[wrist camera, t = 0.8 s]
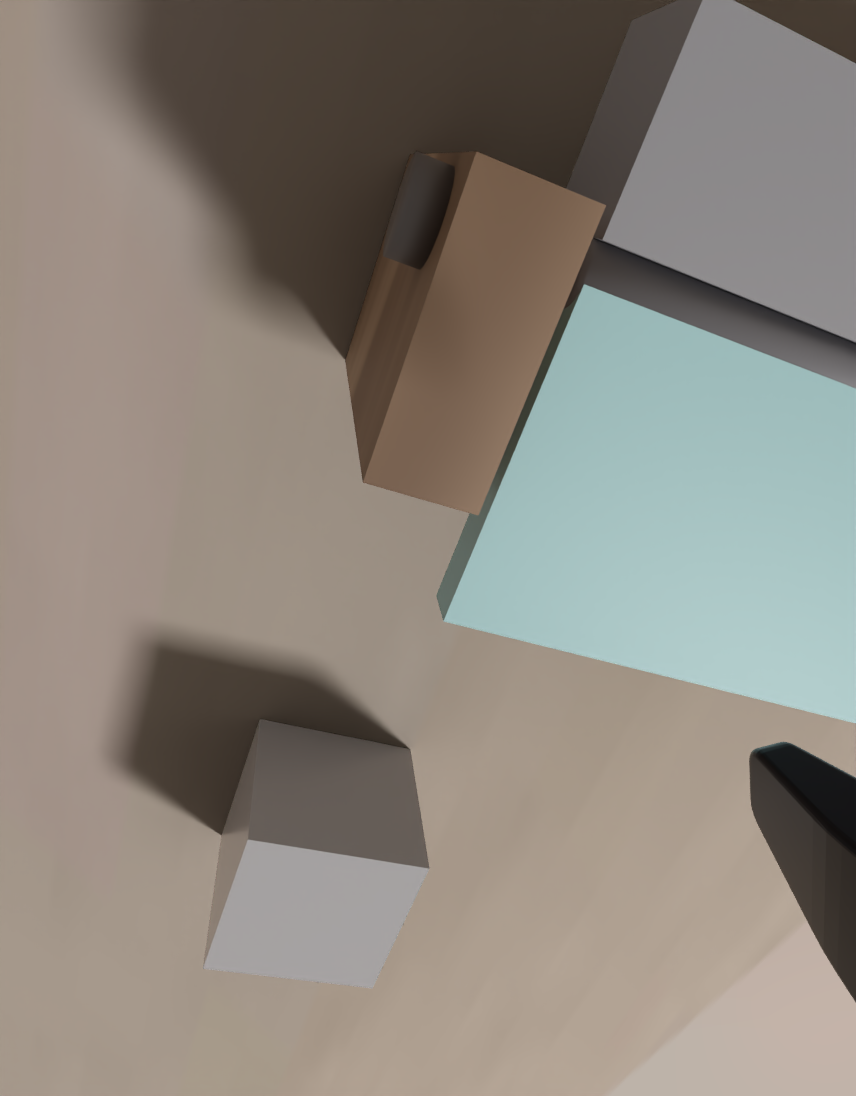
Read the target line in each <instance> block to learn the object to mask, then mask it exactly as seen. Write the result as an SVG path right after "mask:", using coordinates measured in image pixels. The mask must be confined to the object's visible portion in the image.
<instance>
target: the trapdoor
mask: <svg viewBox="0 0 856 1096" xmlns="http://www.w3.org/2000/svg"><path fill="white" fill-rule="evenodd" d="M566 189H568V190H570V191H573V192H575V193H578V194H580V195H582V196H585V197H587V198H590V199H592V200H594V201H597V202H599V203H602V204H604V205H606V207H605V209H604V212H603V214H602V217H601V219H600V222H599V224H598V226H597V229H596V231H595V234H594V236H593V239H592V241H591V243H590V246H589V248H588V251H587V253H586V256H585V258H584V260H583V263H582V265H581V268H580V270H579V273H578V275H577V277H576V280H575V282H574V285H573V287H572V290H571V292H570V294H569V297H568V299H567V302H566V304H565V307H564V309H563V311H562V314H561V316H560V319H559V321H558V324H557V326H556V328H555V331H554V333H553V336H552V338H551V341H550V343H549V345H548V348H547V350H546V353H545V355H544V358H543V360H542V362H541V365H540V367H539V370H538V372H537V375H536V377H535V379H534V382H533V384H532V387H531V389H530V392H529V394H528V396H527V399H526V401H525V404H524V406H523V409H522V411H521V413H520V416H519V418H518V421H517V423H516V426H515V428H514V430H513V433H512V435H511V438H510V440H509V443H508V445H507V447H506V450H505V452H504V455H503V457H502V460H501V462H500V464H499V467H498V469H497V472H496V474H495V476H494V479H493V481H492V484H491V486H490V489H489V491H488V493H487V496H486V498H485V501H484V503H483V506H482V508H481V510H480V513H479V515H474V514H471V513H470V514H469V517H468V519H467V522H466V524H465V526H464V529H463V531H462V534H461V536H460V539H459V541H458V544H457V546H456V549H455V551H454V553H453V556H452V558H451V561H450V563H449V566H448V568H447V571H446V573H445V576H444V578H443V581H442V583H441V585H440V588H439V590H438V593H437V595H436V596H437V600H438V603H439V607H440V610H441V614H442V618H443V621H444V622H448V623H452V624H456V625H460V626H464V627H468V628H473V629H477V630H481V631H485V632H489V633H493V634H497V635H501V636H505V637H509V638H513V639H517V640H521V641H525V642H529V643H533V644H537V645H541V646H545V647H549V648H553V649H557V650H561V651H565V652H570V653H574V654H578V655H582V656H586V657H590V658H594V659H598V660H602V661H606V662H610V663H614V664H618V665H622V666H626V667H630V668H634V669H638V670H642V671H646V672H650V673H654V674H658V675H662V676H667V677H671V678H675V679H679V680H683V681H687V682H691V683H695V684H699V685H703V686H707V687H711V688H715V689H719V690H723V691H727V692H731V693H735V694H739V695H743V696H747V697H751V698H755V699H759V700H764V701H768V702H772V703H776V704H780V705H784V706H788V707H792V708H796V709H800V710H804V711H808V712H812V713H816V714H820V715H824V716H828V717H832V718H836V719H840V720H844V721H848V722H852V723H856V63H854V62H852V61H850V60H848V59H846V58H844V57H843V56H841V55H839V54H837V53H835V52H833V51H831V50H829V49H827V48H825V47H823V46H821V45H819V44H817V43H815V42H813V41H812V40H810V39H808V38H806V37H804V36H802V35H800V34H798V33H796V32H794V31H792V30H790V29H788V28H786V27H784V26H782V25H781V24H779V23H777V22H775V21H773V20H771V19H769V18H767V17H765V16H763V15H761V14H759V13H757V12H755V11H753V10H752V9H750V8H748V7H746V6H744V5H742V4H740V3H738V2H736V1H734V0H677V1H675V2H673V3H670V4H668V5H666V6H663V7H661V8H659V9H657V10H654V11H652V12H650V13H647V14H645V15H643V16H641V17H638V18H636V19H634V20H632V21H631V23H630V26H629V29H628V31H627V34H626V36H625V39H624V41H623V44H622V47H621V49H620V52H619V54H618V57H617V59H616V62H615V64H614V67H613V70H612V72H611V75H610V77H609V80H608V82H607V85H606V87H605V90H604V93H603V95H602V98H601V100H600V103H599V105H598V108H597V111H596V113H595V116H594V118H593V121H592V123H591V126H590V128H589V131H588V134H587V136H586V139H585V141H584V144H583V146H582V149H581V152H580V154H579V157H578V159H577V162H576V164H575V167H574V169H573V172H572V175H571V177H570V180H569V182H568V185H567V187H566Z"/></svg>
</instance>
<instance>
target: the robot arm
mask: <svg viewBox="0 0 856 1096" xmlns="http://www.w3.org/2000/svg"><path fill="white" fill-rule="evenodd" d="M749 766H750V794H751V806H752V810H753V814H754V817H755V819H756V822H757V824H758V826H759V828H760V830H761V832H762V834H763V836H764V838H765V839H766V841H767V843H768V845H769V847H770V849H771V851H772V853H773V855H774V857H775V859H776V861H777V863H778V865H779V867H780V869H781V871H782V873H783V875H784V877H785V878H786V880H787V882H788V884H789V886H790V888H791V890H792V892H793V894H794V896H795V898H796V900H797V902H798V904H799V906H800V908H801V910H802V912H803V914H804V916H805V917H806V919H807V921H808V923H809V925H810V927H811V929H812V931H813V933H814V935H815V937H816V938H817V940H818V942H819V944H820V946H821V948H822V949H823V951H824V953H825V955H826V956H827V958H828V960H829V961H830V963H831V964H832V966H833V968H834V969H835V971H836V972H837V974H838V976H839V977H840V979H841V980H842V982H843V983H844V985H845V986H846V988H847V990H848V991H849V993H850V994H851V996H852V997H853V998H854V1000H855V1002H856V778H855V777H853V776H852V775H850V774H848V773H846V772H844V771H842V770H840V769H838V768H837V767H835V766H833V765H831V764H829V763H827V762H825V761H823V760H822V759H820V758H818V757H816V756H814V755H812V754H810V753H808V752H807V751H805V750H803V749H801V748H799V747H797V746H795V745H793V744H791V743H787V742H780V743H776V744H772V745H768V746H765V747H761V748H757V749H755V750H753V751H752V752H751V754H750V759H749Z"/></svg>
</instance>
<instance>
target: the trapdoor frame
mask: <svg viewBox="0 0 856 1096" xmlns="http://www.w3.org/2000/svg"><path fill="white" fill-rule="evenodd" d="M605 207H606V205H604V204H602V203H599V202H597V201H594V200H592V199H590V198H587V197H585V196H582V195H580V194H578V193H575V192H573V191H570V190H568V189H566V188H563V187H561V186H558V185H556V184H554V183H551V182H549V181H546V180H544V179H542V178H539V177H537V176H534V175H532V174H530V173H527V172H525V171H522V170H520V169H518V168H515V167H513V166H510V165H508V164H506V163H503V162H501V161H498V160H496V159H494V158H491V157H489V156H486V155H484V154H482V153H479V152H477V151H475V152H453V153H430V154H423V153H420V152H418V151H416V152H415V153H414V154H410V156H409V159H408V163H407V166H406V169H405V172H404V175H403V178H402V182H401V185H400V188H399V191H398V194H397V198H396V201H395V204H394V207H393V210H392V214H391V217H390V220H389V223H388V226H387V229H386V233H385V236H384V239H383V242H382V245H381V249H380V252H379V255H378V258H377V261H376V265H375V268H374V271H373V274H372V277H371V281H370V284H369V287H368V290H367V293H366V296H365V300H364V303H363V306H362V309H361V312H360V316H359V319H358V322H357V325H356V328H355V332H354V335H353V338H352V341H351V344H350V347H349V351H348V354H347V357H346V360H345V362H346V369H347V376H348V383H349V390H350V396H351V403H352V410H353V417H354V424H355V431H356V438H357V445H358V452H359V458H360V465H361V472H362V479H363V483H367V484H370V485H374V486H377V487H381V488H384V489H388V490H391V491H395V492H398V493H402V494H405V495H408V496H412V497H415V498H419V499H422V500H426V501H429V502H433V503H436V504H440V505H443V506H447V507H450V508H454V509H457V510H461V511H464V512H468V513H471V514H474V515H479V513H480V510H481V508H482V506H483V503H484V501H485V498H486V496H487V493H488V491H489V489H490V486H491V484H492V481H493V479H494V476H495V474H496V472H497V469H498V467H499V464H500V462H501V460H502V457H503V455H504V452H505V450H506V447H507V445H508V443H509V440H510V438H511V435H512V433H513V430H514V428H515V426H516V423H517V421H518V418H519V416H520V413H521V411H522V409H523V406H524V404H525V401H526V399H527V396H528V394H529V392H530V389H531V387H532V384H533V382H534V379H535V377H536V375H537V372H538V370H539V367H540V365H541V362H542V360H543V358H544V355H545V353H546V350H547V348H548V345H549V343H550V341H551V338H552V336H553V333H554V331H555V328H556V326H557V324H558V321H559V319H560V316H561V314H562V311H563V309H564V307H565V304H566V302H567V299H568V297H569V294H570V292H571V290H572V287H573V285H574V282H575V280H576V277H577V275H578V273H579V270H580V268H581V265H582V263H583V260H584V258H585V256H586V253H587V251H588V248H589V246H590V243H591V241H592V239H593V236H594V234H595V231H596V229H597V226H598V224H599V222H600V219H601V217H602V214H603V212H604V209H605Z"/></svg>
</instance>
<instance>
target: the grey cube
mask: <svg viewBox="0 0 856 1096" xmlns="http://www.w3.org/2000/svg"><path fill="white" fill-rule="evenodd" d="M428 870H429V863H428V857H427V851H426V845H425V838H424V832H423V826H422V820H421V813H420V807H419V801H418V795H417V788H416V782H415V776H414V770H413V763H412V757H411V751H410V749H407V748H402V747H397V746H392V745H387V744H382V743H377V742H372V741H367V740H362V739H357V738H352V737H347V736H342V735H337V734H332V733H327V732H322V731H317V730H312V729H307V728H302V727H297V726H292V725H287V724H282V723H277V722H272V721H267V720H262V719H260V720H259V723H258V726H257V729H256V732H255V735H254V738H253V742H252V745H251V748H250V751H249V754H248V757H247V760H246V763H245V766H244V769H243V772H242V775H241V778H240V781H239V784H238V787H237V790H236V793H235V796H234V799H233V802H232V805H231V808H230V811H229V814H228V817H227V820H226V823H225V826H224V829H223V832H222V836H221V843H220V850H219V857H218V864H217V871H216V879H215V886H214V893H213V900H212V907H211V914H210V922H209V929H208V936H207V943H206V950H205V957H204V965H203V969H211V970H219V971H228V972H236V973H245V974H253V975H262V976H271V977H279V978H288V979H296V980H305V981H314V982H322V983H331V984H339V985H348V986H356V987H365V988H373V986H374V984H375V982H376V980H377V978H378V975H379V973H380V971H381V969H382V967H383V965H384V963H385V961H386V959H387V957H388V954H389V952H390V950H391V948H392V946H393V944H394V942H395V940H396V938H397V935H398V933H399V931H400V929H401V927H402V925H403V923H404V921H405V919H406V917H407V914H408V912H409V910H410V908H411V906H412V904H413V902H414V900H415V898H416V896H417V893H418V891H419V889H420V887H421V885H422V883H423V881H424V879H425V877H426V875H427V872H428Z"/></svg>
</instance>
